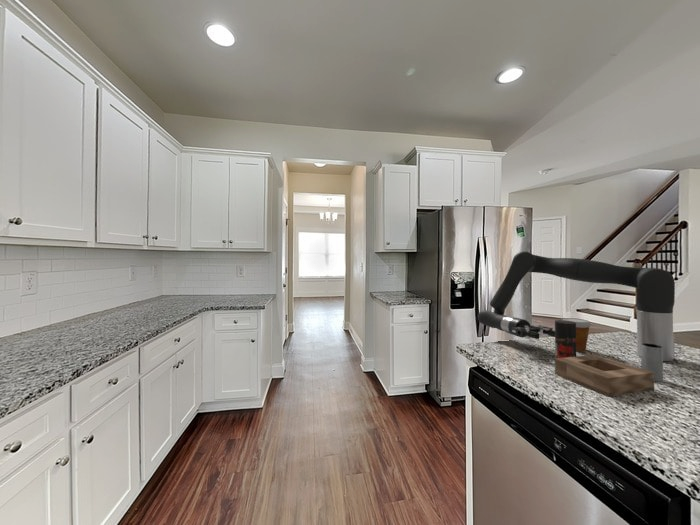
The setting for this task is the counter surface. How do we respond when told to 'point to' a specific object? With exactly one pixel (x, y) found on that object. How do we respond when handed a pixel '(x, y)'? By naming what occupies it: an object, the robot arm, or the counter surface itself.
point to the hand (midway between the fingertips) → (548, 335)
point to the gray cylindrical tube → (652, 360)
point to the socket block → (605, 375)
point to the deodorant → (565, 339)
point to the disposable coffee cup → (580, 332)
